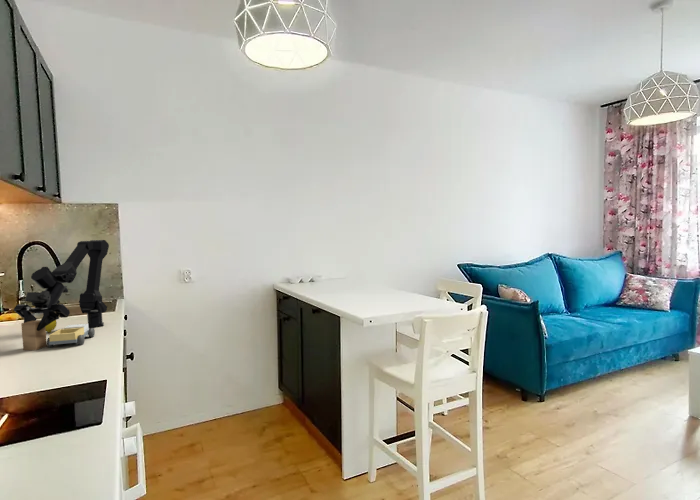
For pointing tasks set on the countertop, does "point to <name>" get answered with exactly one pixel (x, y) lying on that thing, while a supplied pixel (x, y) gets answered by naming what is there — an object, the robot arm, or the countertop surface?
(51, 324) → the lemon
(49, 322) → the robot arm
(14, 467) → the countertop surface
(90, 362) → the countertop surface
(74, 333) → the toy chassis
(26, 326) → the walnut block
